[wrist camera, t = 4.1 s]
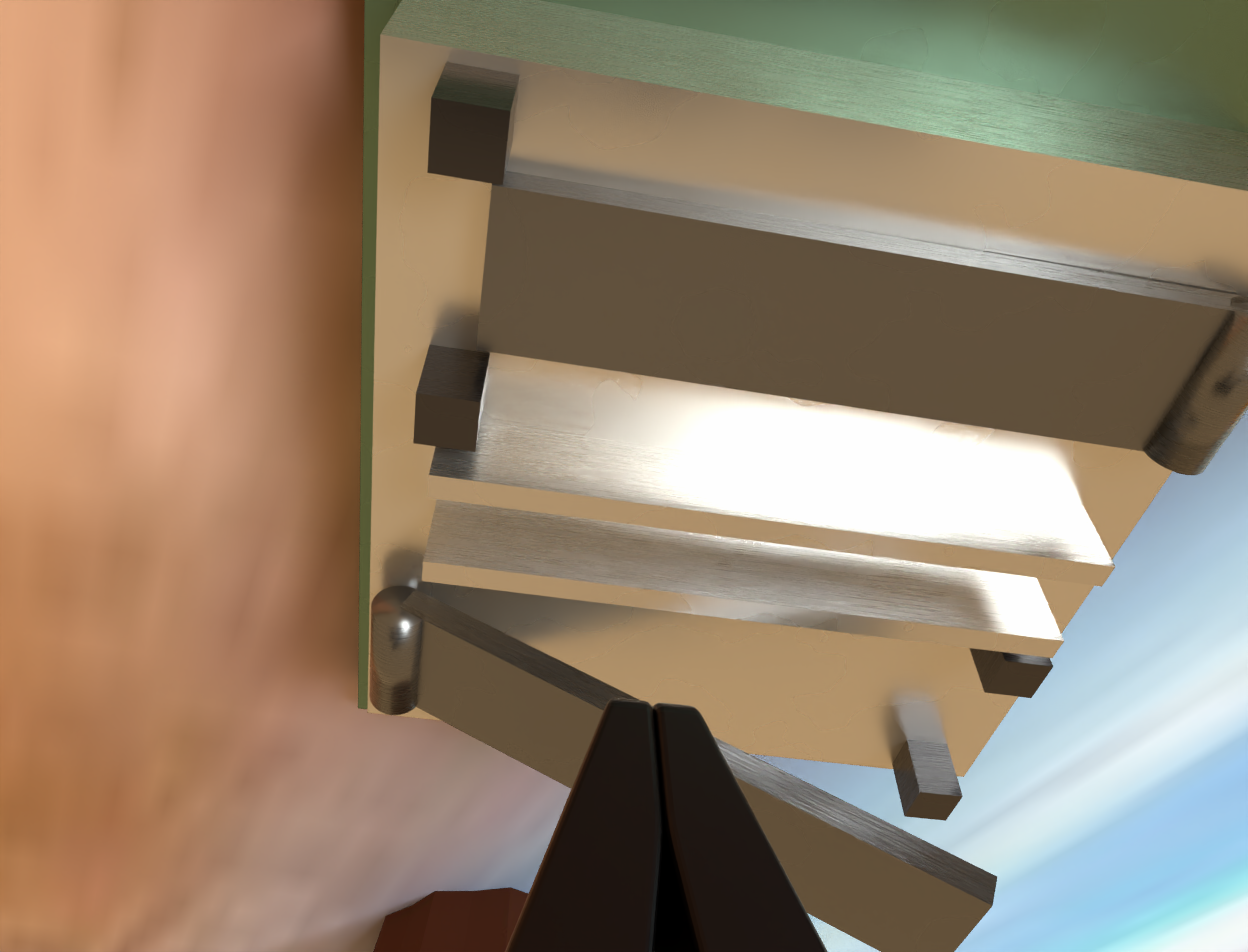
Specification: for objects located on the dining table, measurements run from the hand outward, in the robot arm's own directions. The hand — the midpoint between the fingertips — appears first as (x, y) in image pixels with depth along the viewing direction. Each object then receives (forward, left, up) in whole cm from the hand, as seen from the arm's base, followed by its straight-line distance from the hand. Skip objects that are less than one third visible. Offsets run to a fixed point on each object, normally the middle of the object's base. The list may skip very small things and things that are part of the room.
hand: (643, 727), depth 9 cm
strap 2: (-2, +9, -6) cm, 11 cm away
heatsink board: (-3, +4, -12) cm, 14 cm away
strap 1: (-4, 0, -8) cm, 9 cm away
